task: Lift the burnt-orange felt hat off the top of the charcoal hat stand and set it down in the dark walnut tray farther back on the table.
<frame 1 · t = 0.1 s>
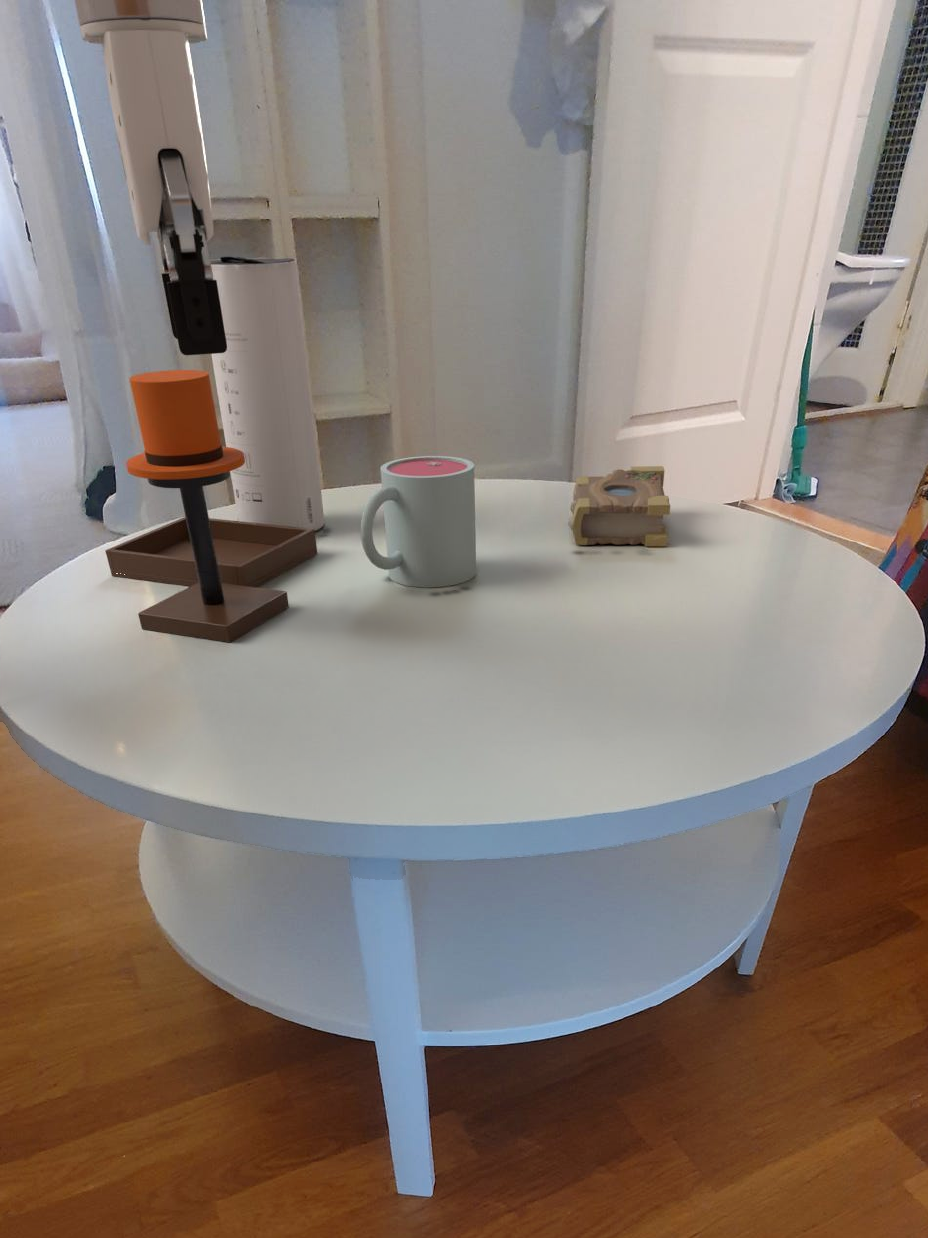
hand: (199, 345, 68), 23 cm above the table, tool pointing down, fingers open, 9 cm apart
white cylindrical canister: (283, 529, 113), on the table
hat stand: (217, 617, 89), on the table
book: (615, 530, 109), on the table
mug: (416, 580, 97), on the table
hat: (186, 465, 81), point 13 cm above the table, touching hat stand
tray: (216, 564, 102), on the table
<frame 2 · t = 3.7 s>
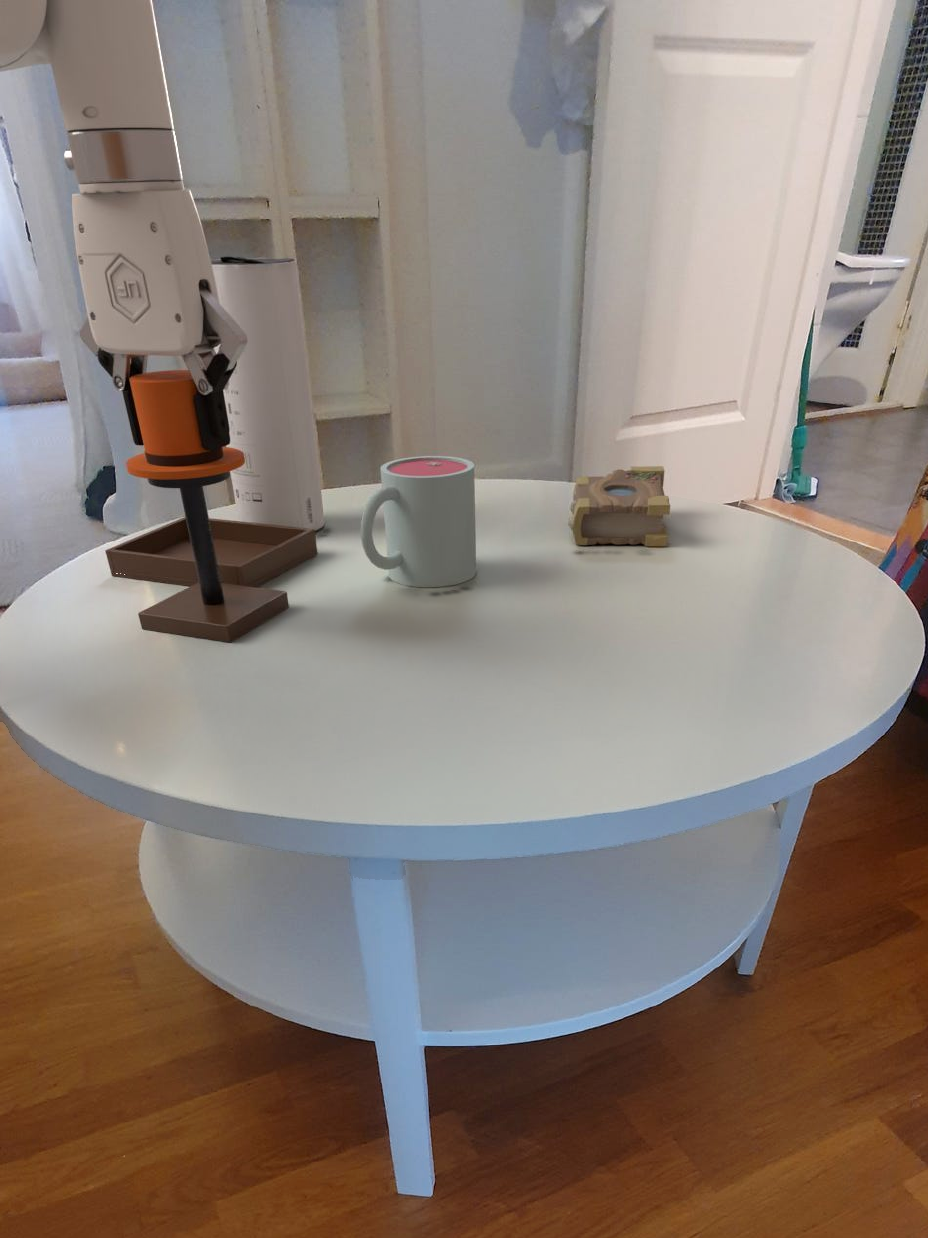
hand: (182, 442, 80), 15 cm above the table, tool pointing down, fingers closed on hat, 6 cm apart
hat: (186, 465, 81), point 13 cm above the table, touching gripper, hat stand
everything else where it was.
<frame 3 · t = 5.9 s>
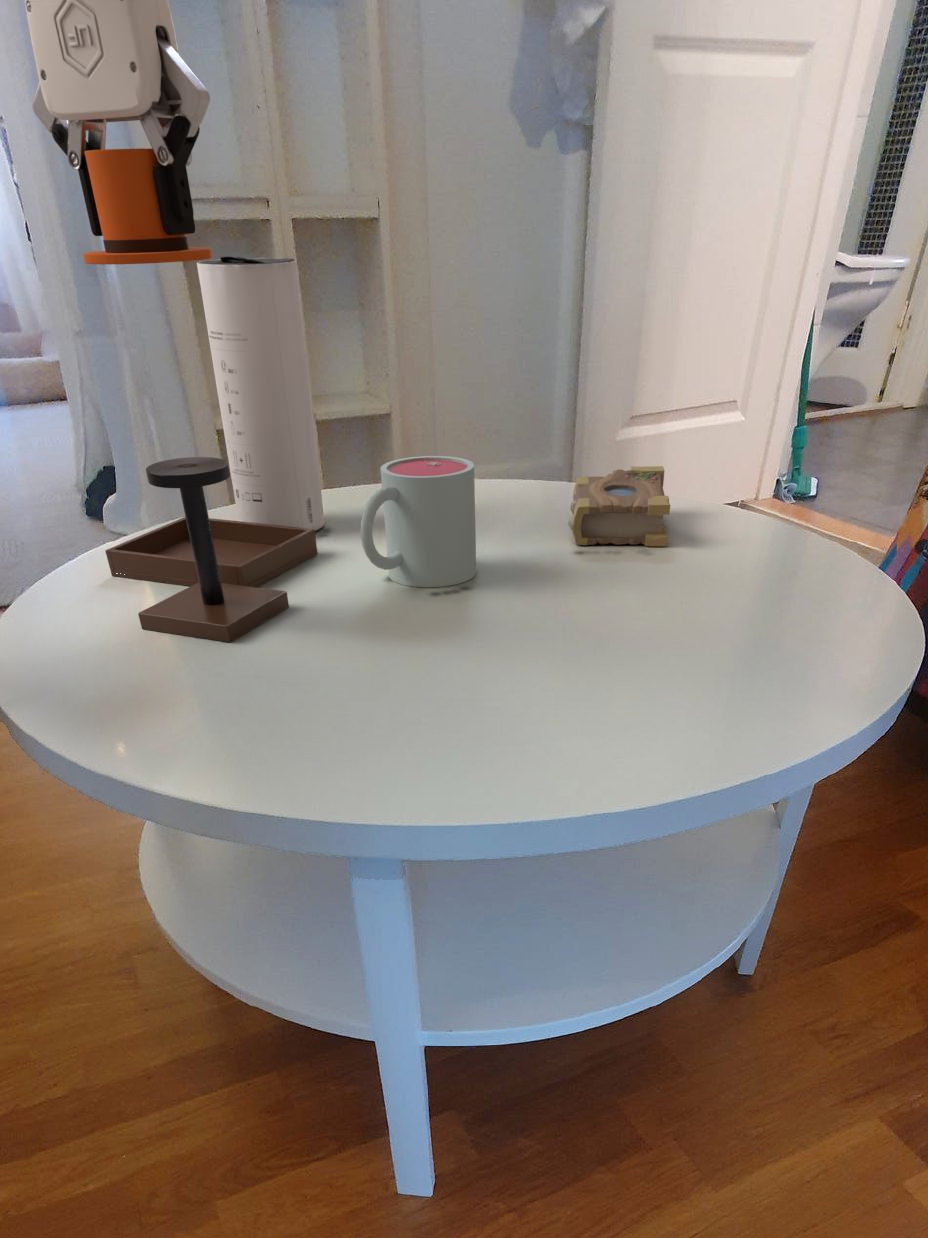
hand: (143, 232, 74), 29 cm above the table, tool pointing down, fingers closed on hat, 6 cm apart
hat: (149, 260, 75), point 27 cm above the table, touching gripper
everything else where it was.
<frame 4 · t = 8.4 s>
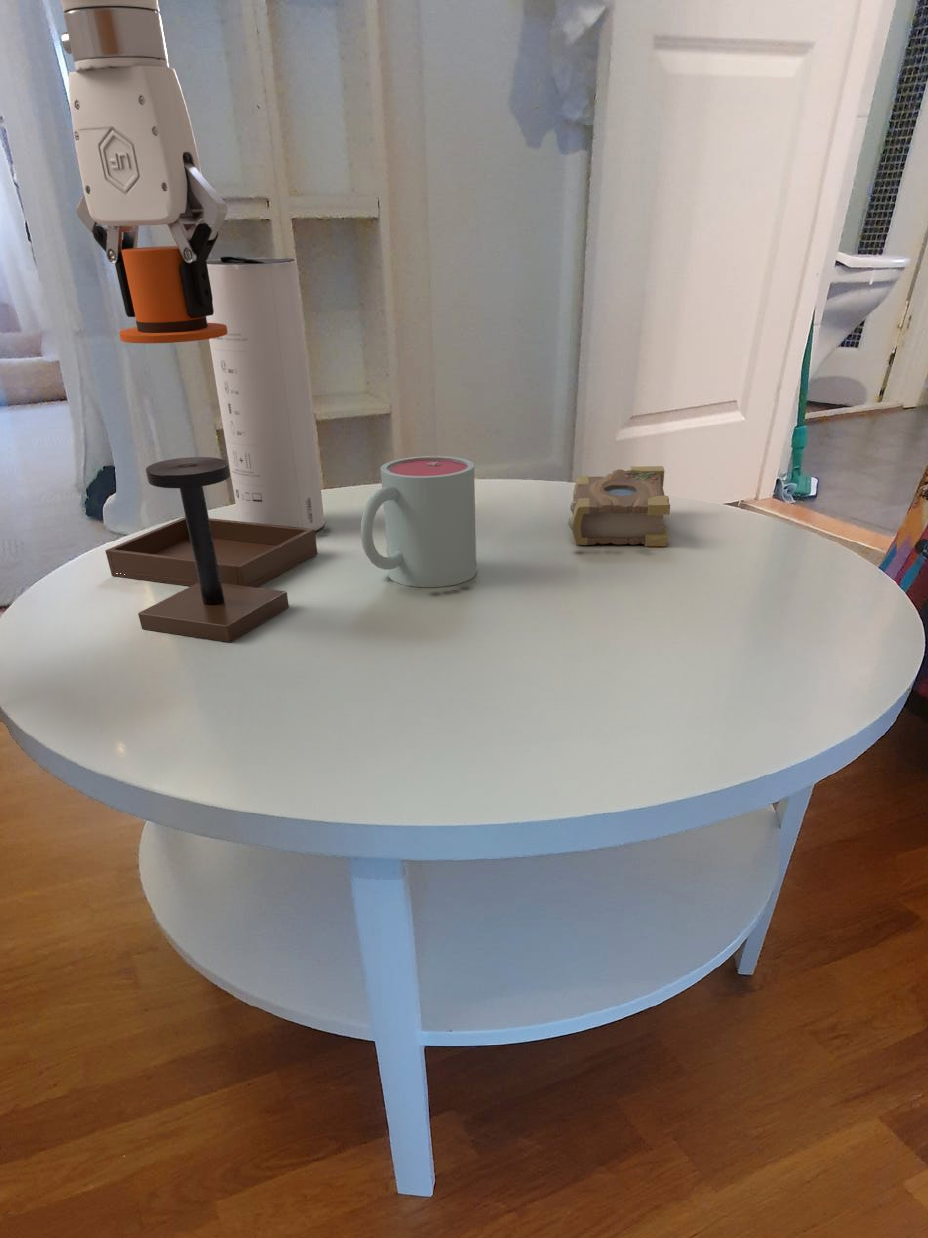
hand: (170, 314, 88), 22 cm above the table, tool pointing down, fingers closed on hat, 6 cm apart
hat: (174, 336, 89), point 21 cm above the table, touching gripper
everything else where it was.
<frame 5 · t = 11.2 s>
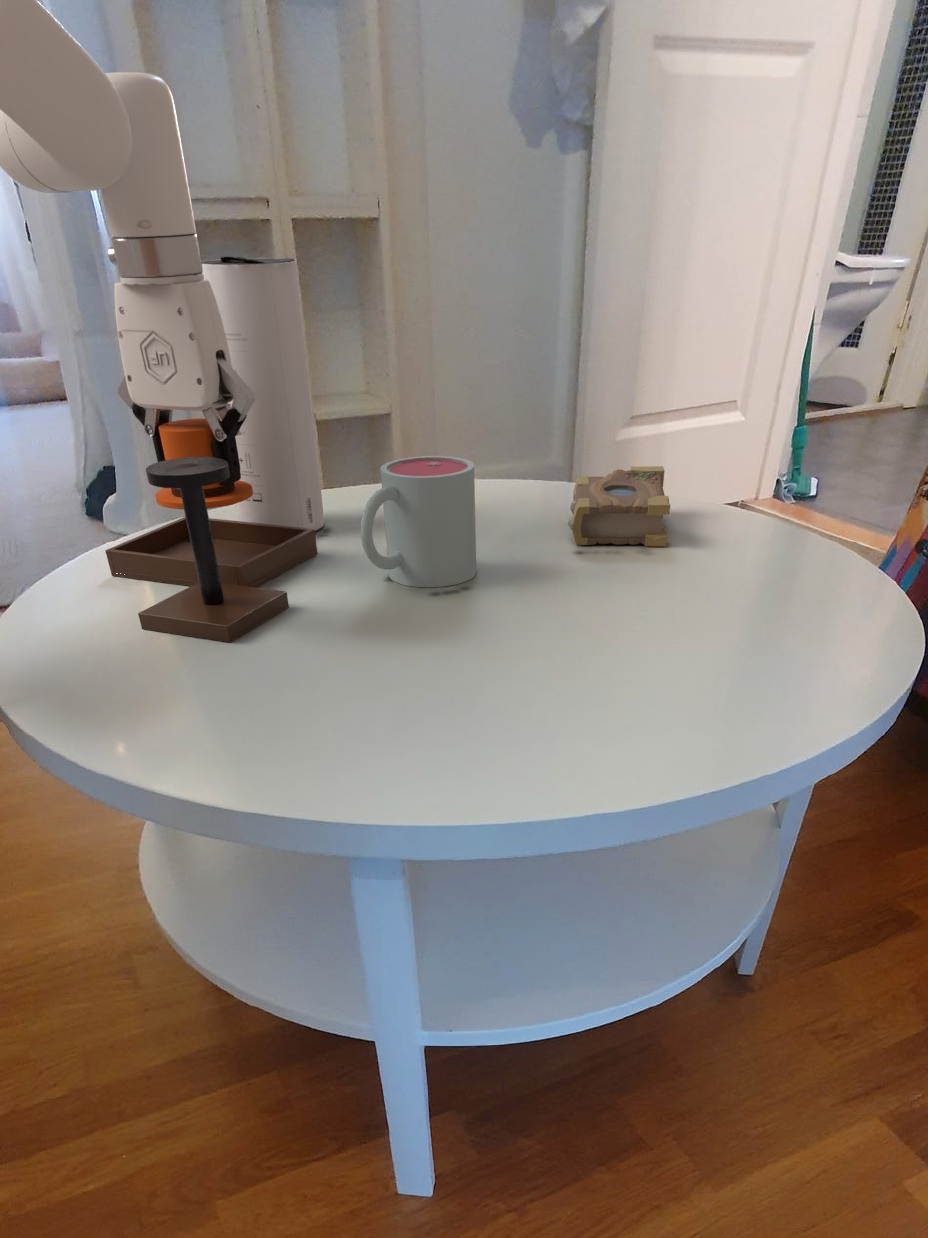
hand: (201, 478, 97), 8 cm above the table, tool pointing down, fingers closed on hat, 6 cm apart
hat: (205, 496, 98), point 7 cm above the table, touching gripper
everything else where it was.
when the fingers open (2 cm above the table, at t = 13.3 s): hat stays where it is, resting on tray.
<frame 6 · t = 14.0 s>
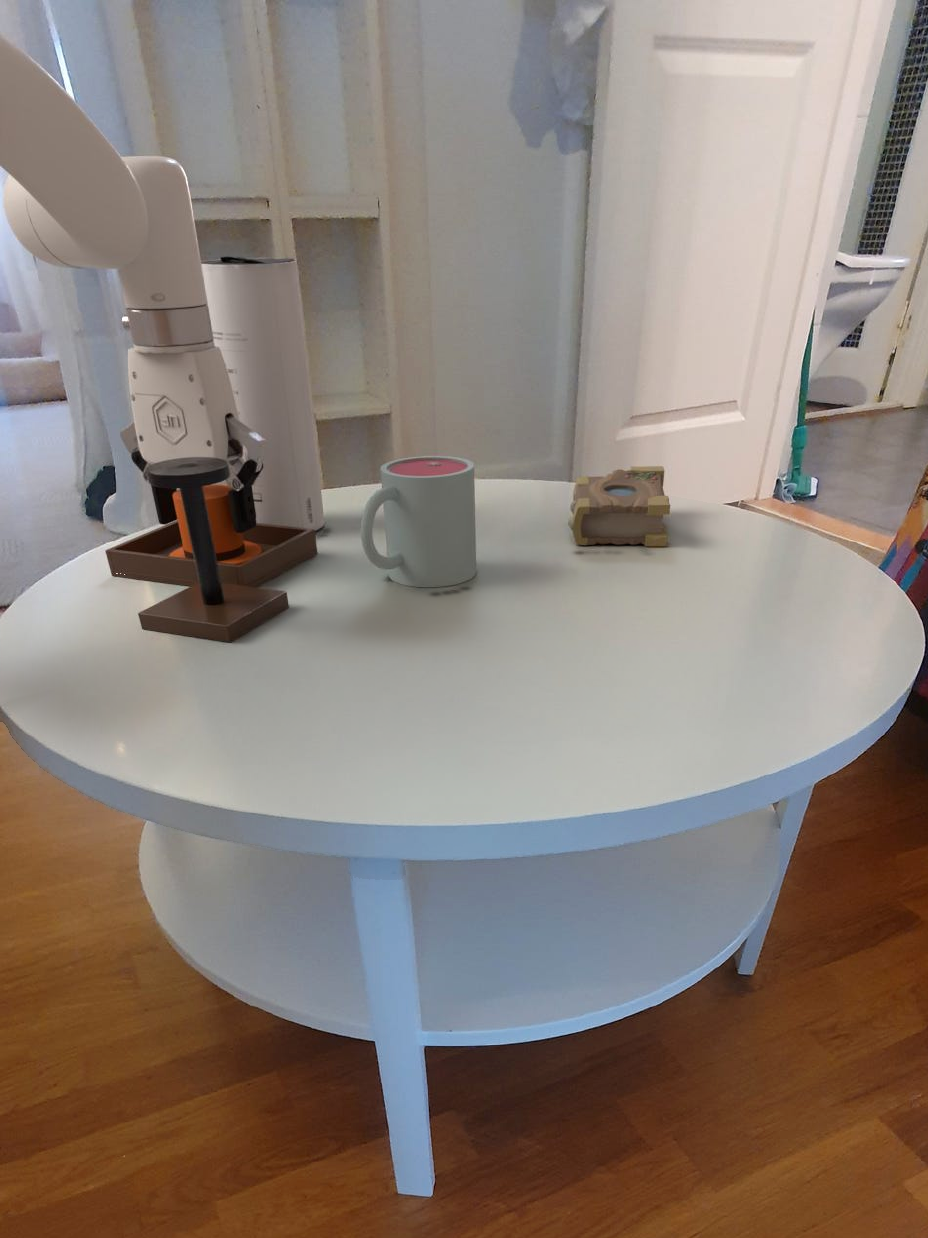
hand: (207, 525, 100), 4 cm above the table, tool pointing down, fingers open, 9 cm apart
hat: (216, 558, 102), point 1 cm above the table, touching tray
everything else where it was.
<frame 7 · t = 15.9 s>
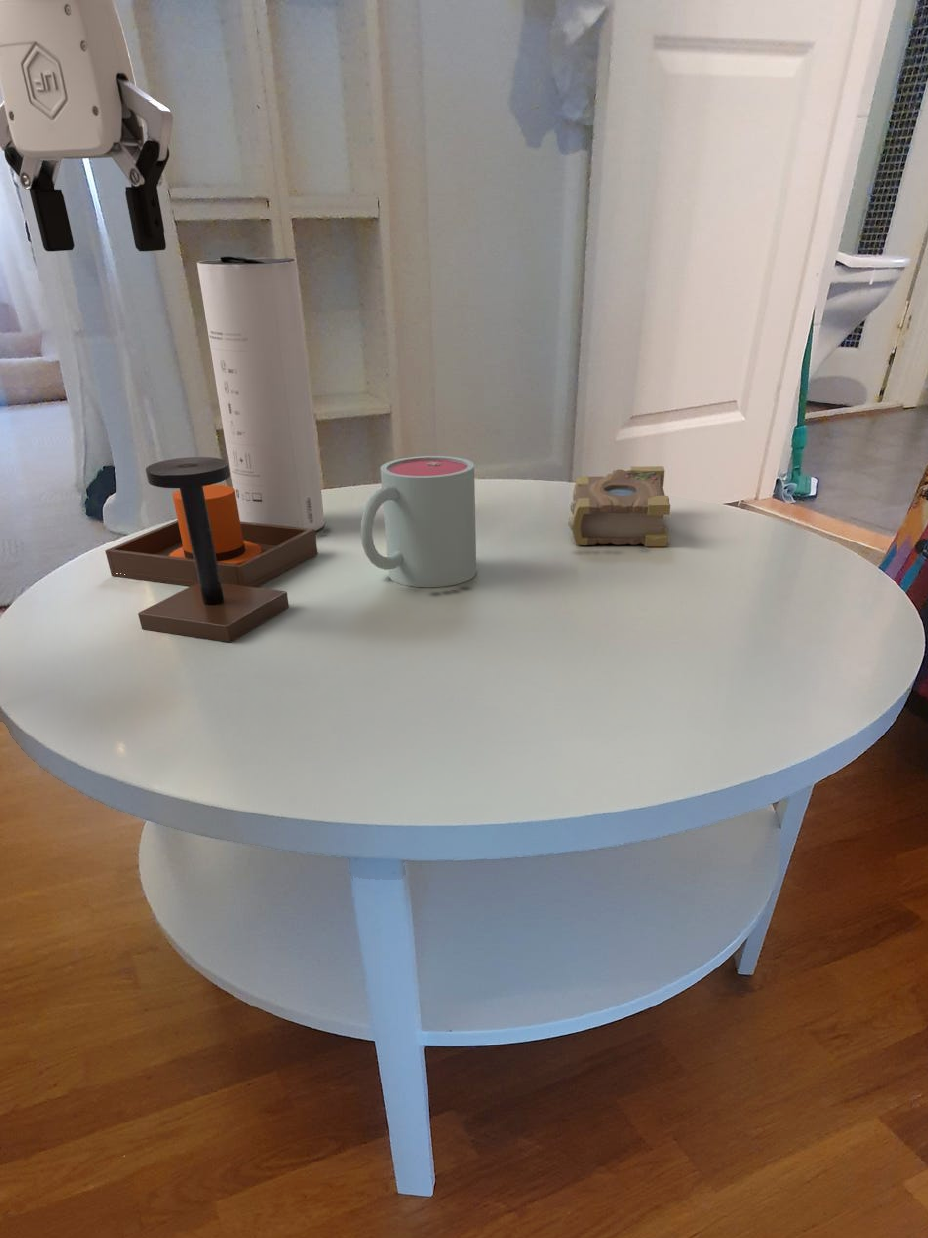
hand: (105, 250, 79), 27 cm above the table, tool pointing down, fingers open, 9 cm apart
nothing on the table moved.
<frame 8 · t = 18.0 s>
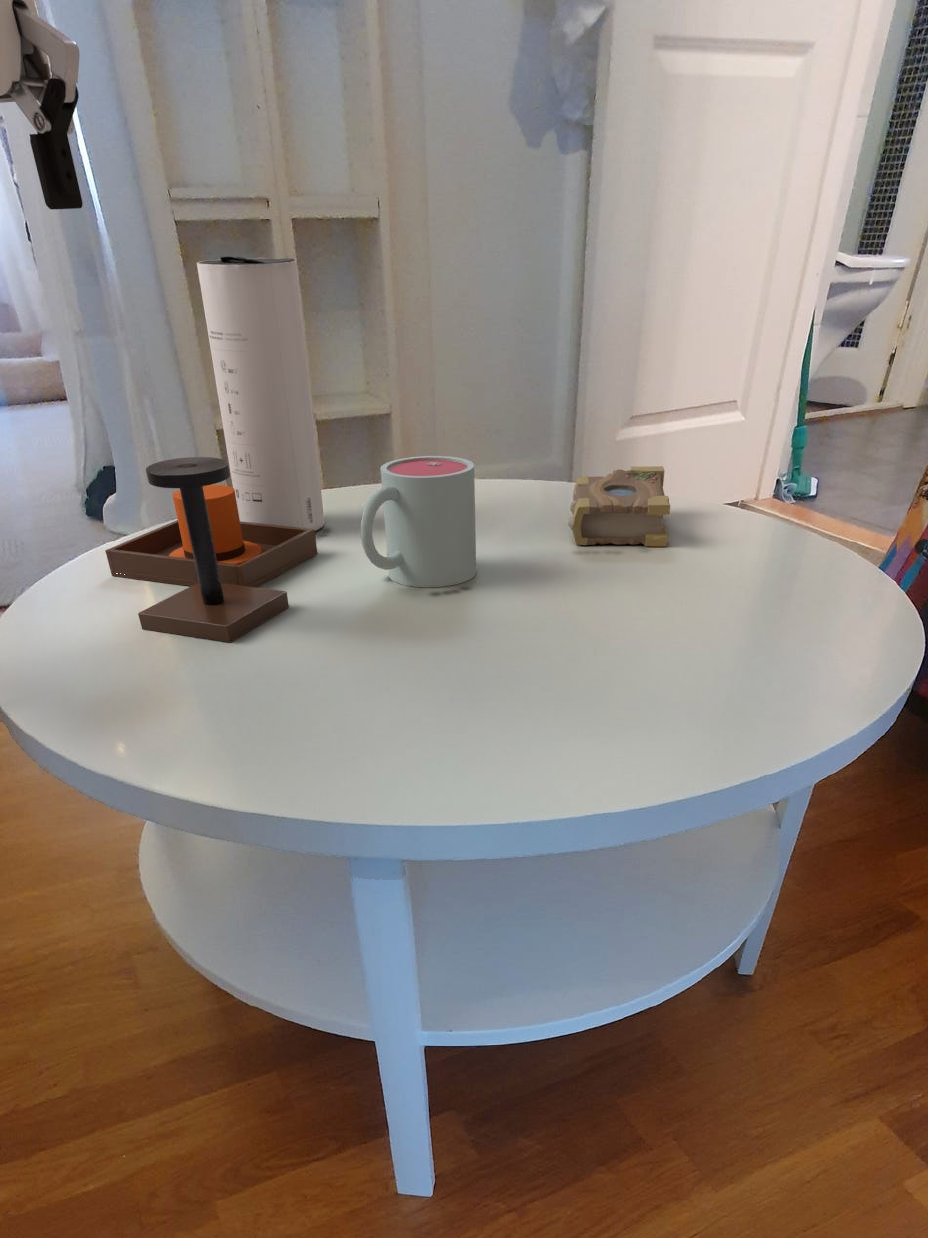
hand: (15, 210, 70), 30 cm above the table, tool pointing down, fingers open, 9 cm apart
nothing on the table moved.
at the end: hat inside the target area in the tray (0.1 cm from its centre), point 0.6 cm above the tray's base; hat tilted 0°; the gripper is holding nothing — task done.
